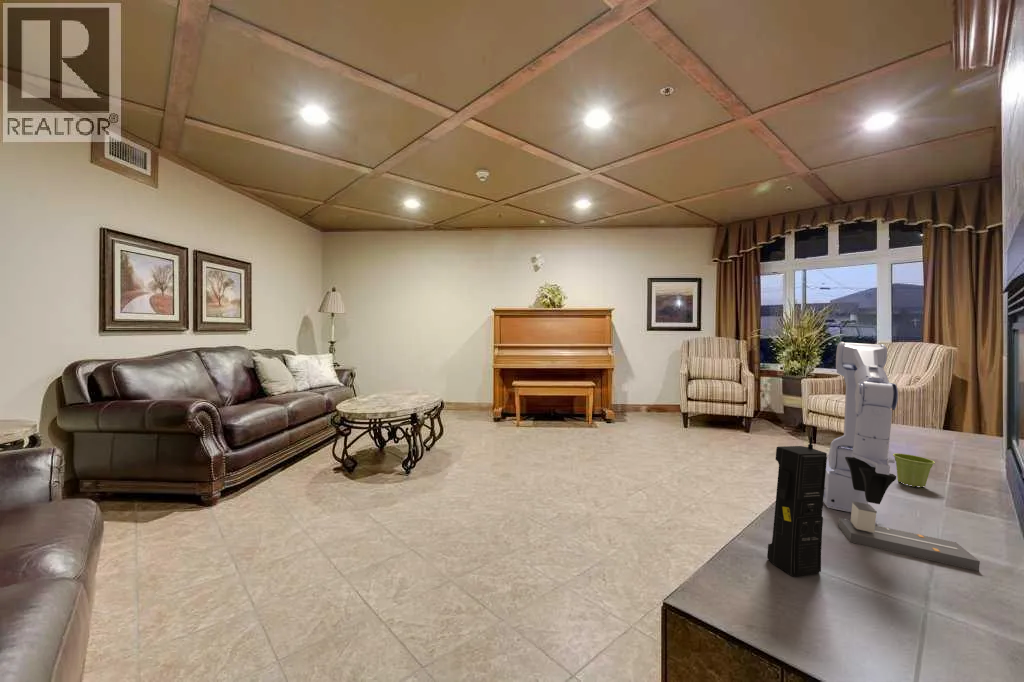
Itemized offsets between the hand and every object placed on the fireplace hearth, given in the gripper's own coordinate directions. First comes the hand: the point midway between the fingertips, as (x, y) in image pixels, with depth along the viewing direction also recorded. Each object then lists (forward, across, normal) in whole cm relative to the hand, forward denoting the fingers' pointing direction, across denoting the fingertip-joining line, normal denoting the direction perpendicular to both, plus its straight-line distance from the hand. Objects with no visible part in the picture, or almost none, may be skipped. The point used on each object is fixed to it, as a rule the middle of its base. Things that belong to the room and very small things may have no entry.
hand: (866, 496), depth 88 cm
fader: (+7, 0, 0) cm, 7 cm away
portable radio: (+10, -23, +17) cm, 30 cm away
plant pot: (+9, +54, -28) cm, 62 cm away
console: (+9, 0, -7) cm, 12 cm away
